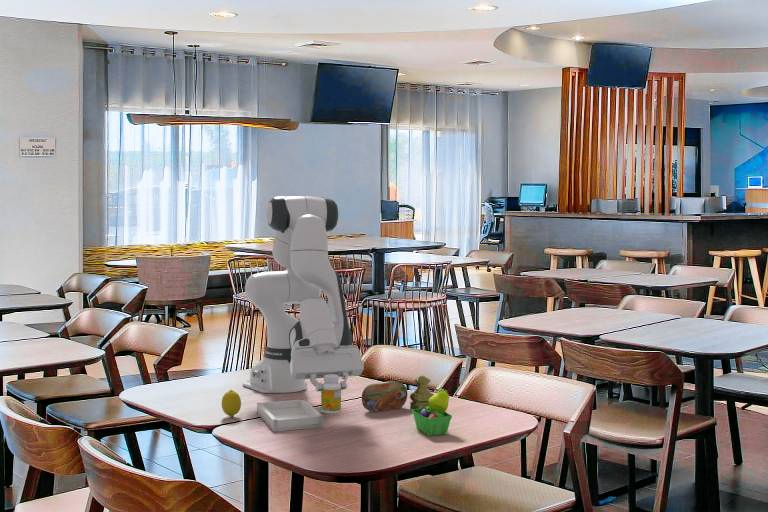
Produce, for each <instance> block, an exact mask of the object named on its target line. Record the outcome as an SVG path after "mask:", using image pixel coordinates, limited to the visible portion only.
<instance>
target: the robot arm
mask: <svg viewBox="0 0 768 512" xmlns="http://www.w3.org/2000/svg"><path fill="white" fill-rule="evenodd" d="M339 214H340V212H339V209H338V205H337V202H336V201H335V200H334V199H331V198H327V197H317V196H310V195H308V196H307V195H303V196H299V195H297V196H295V195H293V196H283V195H281V196H280V195H279V196H274V197H272V198H271V199H270V200H269V201H268V205H267V207H266V213H265V215H266V221H267V225H268V226H269V227H270V228H271V229H272V230H274V231H275V233H274V239H273V245H272V252H271V253H272V258H273V259H274V260H275V262H276V263H277V264H278V265H280V266H281V267H283V268H285V270H279V271H277V270H276V271H275V270H274V271H262V272H257V273H254V274H251V275H250V276H249V277H248V278H247V280H246V282H245V285H244V292H245V296H246V299H248V301H249V302H250V303H251V304H253V306H255V307H256V308H257V309H258V310H259V311H260V312H261V314H262V316H263V318H264V320H265V324H266V334H267V335H266V336H267V346H266V347H262V349H263V350H261V352H264V354H263V358H261V360H259V361H258V362H257V363H256V364H254V365H253V366H252V367H251V368H250V369H251V370H250V374H249V375H250V376H249V380H246V381H243V382H242V386H243V387H245V388H248V389H250V388H251V390H254V391H257V392H259V393H262V394H273V393H277V394H278V393H279V394H280V393H296V392H302V391H305V390H307V388H308V387H307V385H308V383H307V381H306V380H309V382H310V383H311V385H313V386H314V387H315V391H316V392H321V391H322V390H323V386H322V384H323V382H319V381H318V380H317V379H324V375H327V374H336V375H338V376H339V378H341V380H342V381H340V382H339V383H340V384H341V391H344V390H347V388H348V384H347V381H348V378H349V377H357V376H361V375H362V373H363V371H364V368H365V365H364V362H363V359H362V357H361V351H360V349H359V347H357V346H354V344H353V336H352V335H353V334H352V331H351V328H350V324H349V320H348V315H347V314H348V313H347V308H346V302H345V295H344V291H343V285H342V281H341V277H340V274H339V273H338V271H337V270H335V269H333V266H332V264H331V262H330V260H329V244H328V243H329V242H328V235H327V233H328V232H331V231H333V230H334V229H336V227H337V225H338V221H339V218H340V217H339ZM322 292H323V293H324V294H325V295H326V297H327V298H326V299H327V301H328V302H327V301H326V300H325V299H324V298H322V297H320V296H321V294H322ZM297 304H298V305H299V317H298V318H296V317H295V316H294V315H291V314H289V313H287V312H286V310H285V305H297Z"/></svg>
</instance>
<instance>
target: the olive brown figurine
mask: <svg viewBox="0 0 768 512" xmlns="http://www.w3.org/2000/svg"><path fill="white" fill-rule="evenodd" d="M413 382H414V383H415V384H416V385H417V388H416V389H415V390H414V391H413V392H411V393H410V395H409V399H410V402H409V409H410V411H412V410H413V409H423V408H424V407H430V405H429V399H430V397H432V396H433V395H435V394H434V393H433V392H431V390H430V389H428V388H427V386H428V384H429V383H431V379H430V378H429V377H427V376H425V375H419V376H418V377H416V378H414V379H413Z"/></svg>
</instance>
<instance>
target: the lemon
mask: <svg viewBox="0 0 768 512" xmlns="http://www.w3.org/2000/svg"><path fill="white" fill-rule="evenodd" d="M241 406H242V400H241V396H240V395H239V393H238V392H236V391H234V390H233V389H229V391H227V392H225V393H224V394H223V396H222V398H221V409H222V412H223V413H224V414H225V415H227V416H229V417H230V418H233V417H234V416H235V415H236V414H238V413H239V412H240V410H241Z"/></svg>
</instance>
